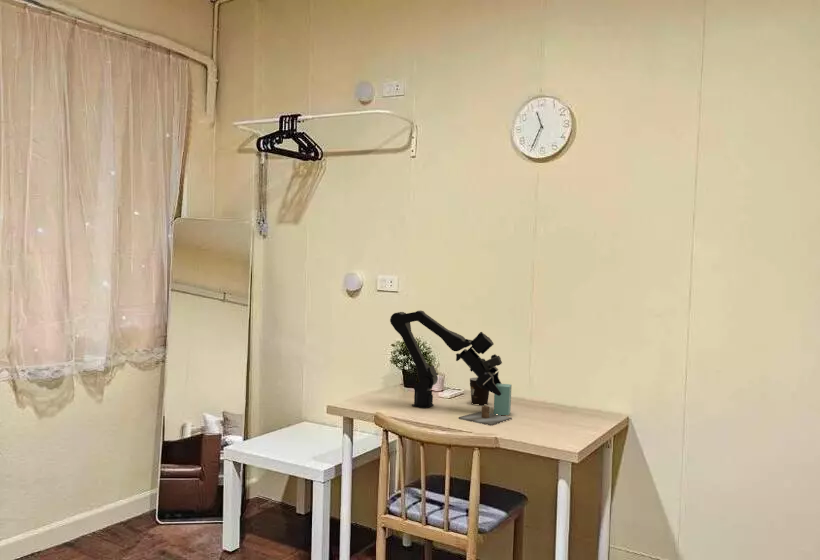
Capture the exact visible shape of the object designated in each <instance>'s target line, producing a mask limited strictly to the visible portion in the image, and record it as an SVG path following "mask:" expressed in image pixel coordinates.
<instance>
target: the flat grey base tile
mask: <svg viewBox="0 0 820 560" xmlns="http://www.w3.org/2000/svg"><path fill="white" fill-rule="evenodd" d="M490 410H491V409H490V406H488V405H481V411H480V410H479V411H476V412H473V413H469V414H466V415H465V414H464V415H462V416H459V417H458V419H459V420H462V419H463V420H464V421H468V422H472V421H473V423H477V424H481V423H482V425H486V424H488V425H487V426H491V425H492V426H495V425H497V423H498V424H501V423H500V422H502V423H504V422H503V421H505V422H507V421H506V420H508V421H510V420H509V419H511V420H513V417H511V416H510V417H509V416H501V415H496V414H494V413H490ZM494 424H495V425H494Z"/></svg>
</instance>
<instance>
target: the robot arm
mask: <svg viewBox="0 0 820 560" xmlns="http://www.w3.org/2000/svg"><path fill="white" fill-rule="evenodd" d="M389 322H390V325H391V326H392V327H393V329H394V330H395V331H396V333H398V334H399V335H400V337H401V338H402V340H403V343H404V344H405V347H406V349H407V351H408V354H409V355H410V357H411V359H412V362H413V363H414V365H415V367H416V373H417V378H418V382H417V383H415V385H413V389H414V390H413V391H414V397H413V398H414V400H413V403H412V404H411V407H417V408H423V409H426V408H427V409H428V408H429V407H433V406H434V405H435V404H433V401H434V400H433V398H434V395H433V391H432V389H433V386H434V385H436V384H437V382H438V380H439V379H438V375H439V373H438V372H437V370H436V368H435V365H431V366H430V365H429V364H428V363H427V361H426V359H425V356H424V354H423V352H422V350H421V349H420V346H419V344H418V342H417V340H416V337H415V336H414V334H413V331H412V325H411V323H414V322H419V323H420V324H421V325H423V326H424V327H426V328H427V329H428V330H430V331H431V332H432V333H433V334H435V335H436V336H438V337H439V338H441V340H442V341H443V342H444V343H445V345H446V346H447V347H448V348H449V349H450V350H451V351H452V352H458V353H456V354H455V355H456V357H455V361H456V362H458V361H460V360H462V361H463V362H464V363H465V364H466V366H468V368H469V371H470V372H471V373H472V372H473V374H474V375H475V376H476V377H477V378H478V379H477V380H476V384H477V386H478V387H480V386H481V385H482V384H483V386H482V387H481V388H483V389H485V390H488V391H489V393H492V394H493V395H494V394H496V395H498V396H500V395H501V393H500V391H499V389H498V388H497V386H496V384H497V383H499V384H503V383H502V382H501V380H500V378H499V372H500V371H499V369H498V366H500V365H502V364H503V362H502V358H501V356H500V355H497V354H496V353H493V354H492V355H491V356H490V358H489V359H485V358H482V357H480V356H479V355H480V354H482V355H484V354H485V353H486V352H487V351H489V349H491V347H493V346H494V342H493V340H492V339H491V338H490V337H489V336H487V335H486V333H483V332H484V331H480V332H479V333H478V334H477V335H476V337H474V338H473V339H468V338H465V337H464V336H463V335H461V334H460V333H457V332H454V331H452V330H449V329H448V328H446V327H445V326H444V325H442V324H441V323H439V322H438V321H437V320H436V319H434V318H432V317H431V316H429V314H427V313H426V312H425V311H424V310H417V311H414V312H413V311H412V312H408V313H406V312H404V311H398V312H394V313H393V314H392V315H391V316H390V319H389ZM468 347H469V348H468ZM466 348H468V349H466ZM459 351H461V352H460V353H459Z"/></svg>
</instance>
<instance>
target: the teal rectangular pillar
mask: <svg viewBox="0 0 820 560" xmlns="http://www.w3.org/2000/svg"><path fill="white" fill-rule="evenodd" d="M496 386H497V388H498V389H499V391H500V393H501V395H500V396H498V395H496V394H494V393H493V395H494V397H493V414H498V415H509V414H511V410H512V408H511V405H512V400H511V399H512V384H511V383H510V384H509V383H502V384H499V383H497V384H496ZM509 416H510V415H509Z"/></svg>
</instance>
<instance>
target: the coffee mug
mask: <svg viewBox="0 0 820 560" xmlns="http://www.w3.org/2000/svg"><path fill="white" fill-rule="evenodd" d="M477 379H478V378H477V376H476V377H470V378H469V386H470V387H469V388H470V397H471V398H470V401H471V404H472V403H473V404H479V405H478V406H485V405H484V404H487V405H488V402H489V396H490V391H488V390H485V389H483V388H481V387H482V386H483V384H482V385H481V386H480V387H478V386H477V384H476V380H477ZM473 404H472V405H473Z"/></svg>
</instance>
